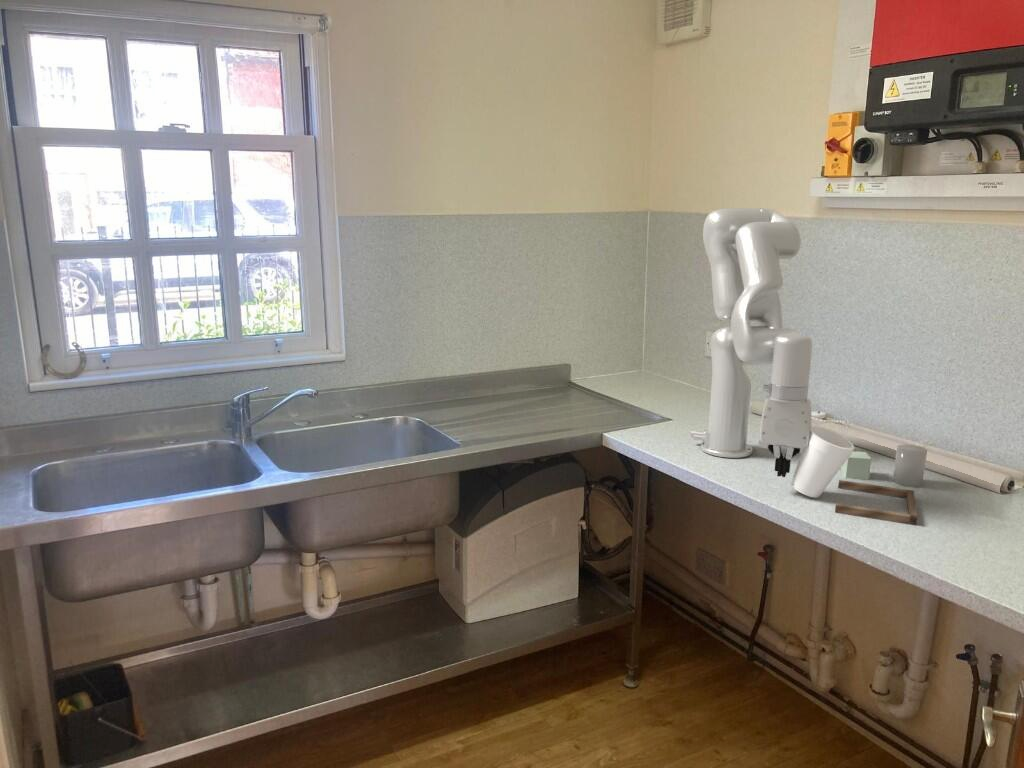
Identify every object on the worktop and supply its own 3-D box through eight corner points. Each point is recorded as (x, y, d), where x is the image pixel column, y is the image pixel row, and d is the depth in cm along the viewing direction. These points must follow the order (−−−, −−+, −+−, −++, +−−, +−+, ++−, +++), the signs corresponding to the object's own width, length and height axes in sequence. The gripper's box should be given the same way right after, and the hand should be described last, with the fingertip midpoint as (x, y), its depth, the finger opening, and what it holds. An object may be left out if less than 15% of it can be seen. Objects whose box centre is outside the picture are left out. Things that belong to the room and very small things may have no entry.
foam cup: (799, 499, 162) (827, 446, 158) (776, 474, 170) (801, 423, 166) (835, 504, 166) (863, 452, 161) (810, 479, 174) (836, 429, 169)
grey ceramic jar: (893, 484, 175) (897, 450, 173) (892, 476, 180) (896, 443, 178) (923, 488, 172) (927, 454, 170) (921, 480, 178) (926, 446, 176)
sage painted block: (845, 478, 179) (848, 457, 177) (840, 470, 183) (842, 450, 182) (868, 479, 178) (871, 458, 177) (863, 472, 183) (865, 452, 181)
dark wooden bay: (834, 512, 159) (835, 505, 158) (838, 486, 173) (839, 479, 173) (916, 525, 153) (917, 517, 152) (912, 497, 167) (913, 490, 167)
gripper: (749, 392, 165) (743, 475, 169) (825, 399, 159) (817, 485, 162) (755, 385, 171) (749, 465, 175) (827, 392, 165) (820, 475, 169)
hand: (781, 474), depth 169 cm, fingers closed
